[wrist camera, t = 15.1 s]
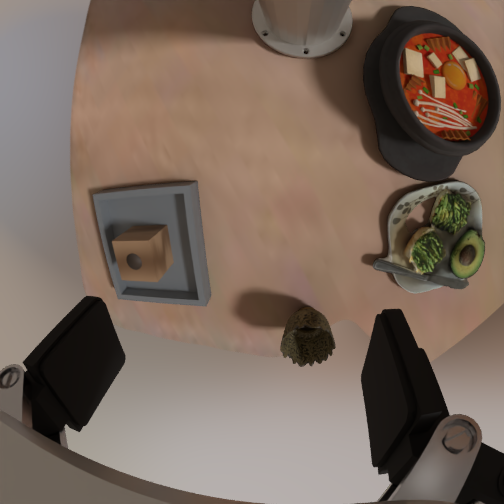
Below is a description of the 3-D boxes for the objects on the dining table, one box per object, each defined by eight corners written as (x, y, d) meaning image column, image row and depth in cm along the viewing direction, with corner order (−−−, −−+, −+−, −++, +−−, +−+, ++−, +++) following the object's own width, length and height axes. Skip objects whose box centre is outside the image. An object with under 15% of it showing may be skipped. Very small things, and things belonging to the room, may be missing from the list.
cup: (273, 312, 45) (269, 346, 38) (309, 285, 42) (311, 318, 35) (304, 339, 47) (304, 373, 39) (339, 315, 44) (345, 349, 37)
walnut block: (132, 226, 41) (111, 241, 36) (167, 224, 41) (148, 240, 35) (140, 261, 44) (121, 280, 38) (173, 262, 43) (157, 282, 37)
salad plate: (374, 305, 43) (380, 323, 38) (360, 195, 36) (368, 204, 32) (474, 278, 38) (487, 292, 34) (475, 174, 32) (492, 180, 27)
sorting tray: (103, 189, 40) (92, 194, 38) (197, 180, 38) (190, 185, 35) (126, 290, 48) (118, 299, 45) (211, 295, 45) (206, 306, 43)
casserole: (461, 193, 33) (492, 211, 25) (345, 159, 34) (359, 168, 27) (480, 42, 22) (511, 32, 15) (367, -7, 24) (382, -33, 16)
